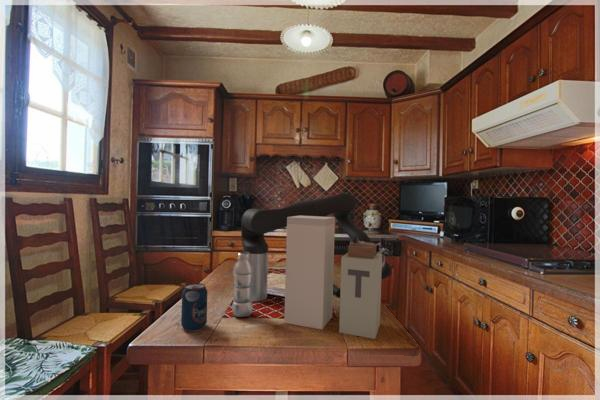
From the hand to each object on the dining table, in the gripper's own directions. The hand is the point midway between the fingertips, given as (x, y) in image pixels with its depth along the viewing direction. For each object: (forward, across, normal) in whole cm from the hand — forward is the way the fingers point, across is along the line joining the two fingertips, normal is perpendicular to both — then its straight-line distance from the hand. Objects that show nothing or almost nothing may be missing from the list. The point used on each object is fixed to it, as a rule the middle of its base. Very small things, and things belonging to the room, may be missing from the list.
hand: (368, 239), depth 105 cm
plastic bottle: (+2, -36, +30) cm, 47 cm away
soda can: (+14, -44, +37) cm, 59 cm away
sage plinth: (-3, 0, +27) cm, 27 cm away
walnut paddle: (+4, 0, +6) cm, 7 cm away
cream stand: (-3, -16, +27) cm, 32 cm away
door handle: (-31, -23, +12) cm, 40 cm away
